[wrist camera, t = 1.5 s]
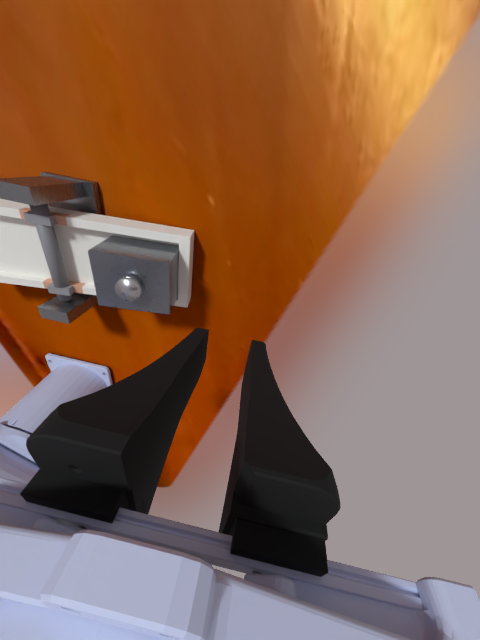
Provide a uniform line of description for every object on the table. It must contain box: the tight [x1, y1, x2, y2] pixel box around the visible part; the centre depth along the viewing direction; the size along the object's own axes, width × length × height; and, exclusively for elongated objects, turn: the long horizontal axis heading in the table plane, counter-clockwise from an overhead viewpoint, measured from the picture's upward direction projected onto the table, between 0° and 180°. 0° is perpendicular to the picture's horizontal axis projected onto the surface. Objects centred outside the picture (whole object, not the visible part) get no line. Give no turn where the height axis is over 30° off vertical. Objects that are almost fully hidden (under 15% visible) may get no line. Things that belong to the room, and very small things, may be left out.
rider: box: [88, 235, 179, 315], centre depth 17 cm, size 4×5×4 cm
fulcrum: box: [0, 172, 102, 324], centre depth 19 cm, size 10×4×5 cm, turn 171°
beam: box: [0, 199, 194, 308], centre depth 18 cm, size 7×20×2 cm, turn 81°
